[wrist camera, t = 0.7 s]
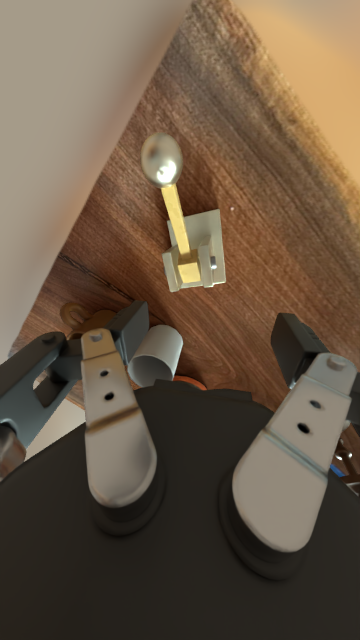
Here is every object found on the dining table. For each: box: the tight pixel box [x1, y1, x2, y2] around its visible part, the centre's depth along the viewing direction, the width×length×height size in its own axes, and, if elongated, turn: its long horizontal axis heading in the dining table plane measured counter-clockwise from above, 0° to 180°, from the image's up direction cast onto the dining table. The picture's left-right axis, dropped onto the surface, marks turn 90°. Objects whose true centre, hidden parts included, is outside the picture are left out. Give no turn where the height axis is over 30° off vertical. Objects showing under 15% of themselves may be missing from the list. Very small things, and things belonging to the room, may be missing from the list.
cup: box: [127, 325, 183, 387], centre depth 37 cm, size 8×8×10 cm
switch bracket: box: [162, 209, 226, 292], centre depth 26 cm, size 11×8×13 cm
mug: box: [60, 302, 117, 340], centre depth 37 cm, size 12×8×9 cm, turn 24°
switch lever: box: [140, 132, 201, 283], centre depth 18 cm, size 13×3×3 cm, turn 11°
